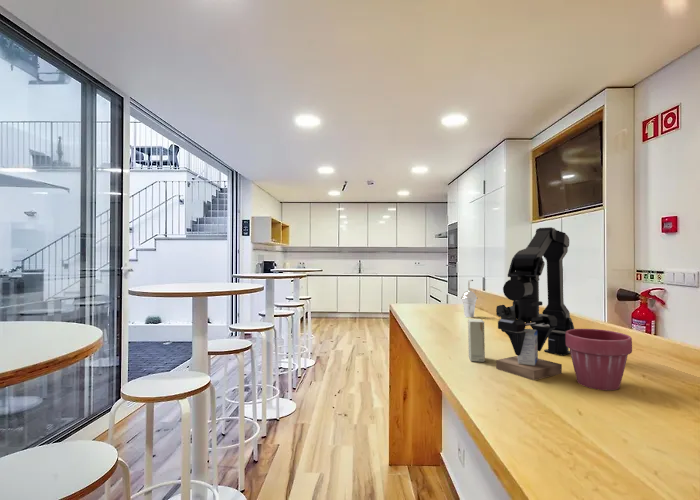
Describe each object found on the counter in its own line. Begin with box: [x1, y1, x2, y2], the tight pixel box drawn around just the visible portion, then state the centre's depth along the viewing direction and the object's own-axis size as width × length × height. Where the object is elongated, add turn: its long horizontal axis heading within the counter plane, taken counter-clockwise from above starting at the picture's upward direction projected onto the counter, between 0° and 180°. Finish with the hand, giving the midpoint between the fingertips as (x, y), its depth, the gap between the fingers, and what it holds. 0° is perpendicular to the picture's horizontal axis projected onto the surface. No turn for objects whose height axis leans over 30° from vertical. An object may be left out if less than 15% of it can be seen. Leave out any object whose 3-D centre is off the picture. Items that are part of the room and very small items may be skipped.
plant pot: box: [565, 328, 633, 391], centre depth 98 cm, size 14×14×13 cm
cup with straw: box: [460, 279, 478, 318], centre depth 204 cm, size 8×9×20 cm
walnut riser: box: [495, 355, 563, 381], centre depth 109 cm, size 12×12×2 cm
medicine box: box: [517, 328, 539, 366], centre depth 109 cm, size 8×4×9 cm, turn 149°
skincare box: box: [467, 318, 486, 363], centre depth 121 cm, size 6×4×12 cm
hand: (528, 352), depth 109 cm, fingers closed on medicine box, 9 cm apart
